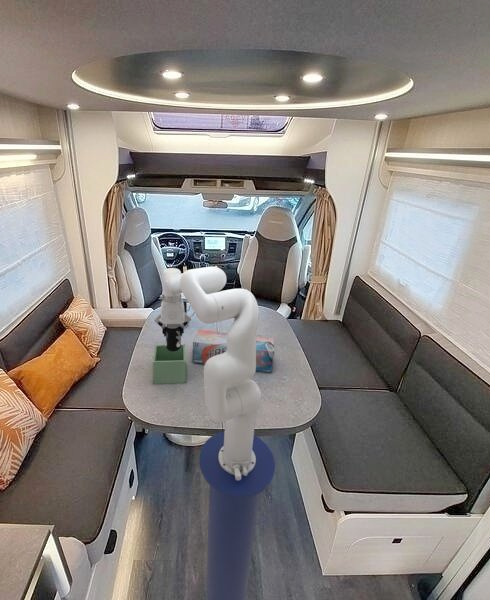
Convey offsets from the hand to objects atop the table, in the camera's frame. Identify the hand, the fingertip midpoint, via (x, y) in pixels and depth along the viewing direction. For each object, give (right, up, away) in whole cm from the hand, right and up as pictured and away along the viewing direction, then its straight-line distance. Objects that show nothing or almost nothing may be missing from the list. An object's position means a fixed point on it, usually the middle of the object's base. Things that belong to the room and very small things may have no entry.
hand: (173, 334), depth 138 cm
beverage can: (0, -7, +3) cm, 7 cm away
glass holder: (+1, -1, +61) cm, 61 cm away
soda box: (+28, -17, +24) cm, 41 cm away
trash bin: (-3, -20, +13) cm, 25 cm away
